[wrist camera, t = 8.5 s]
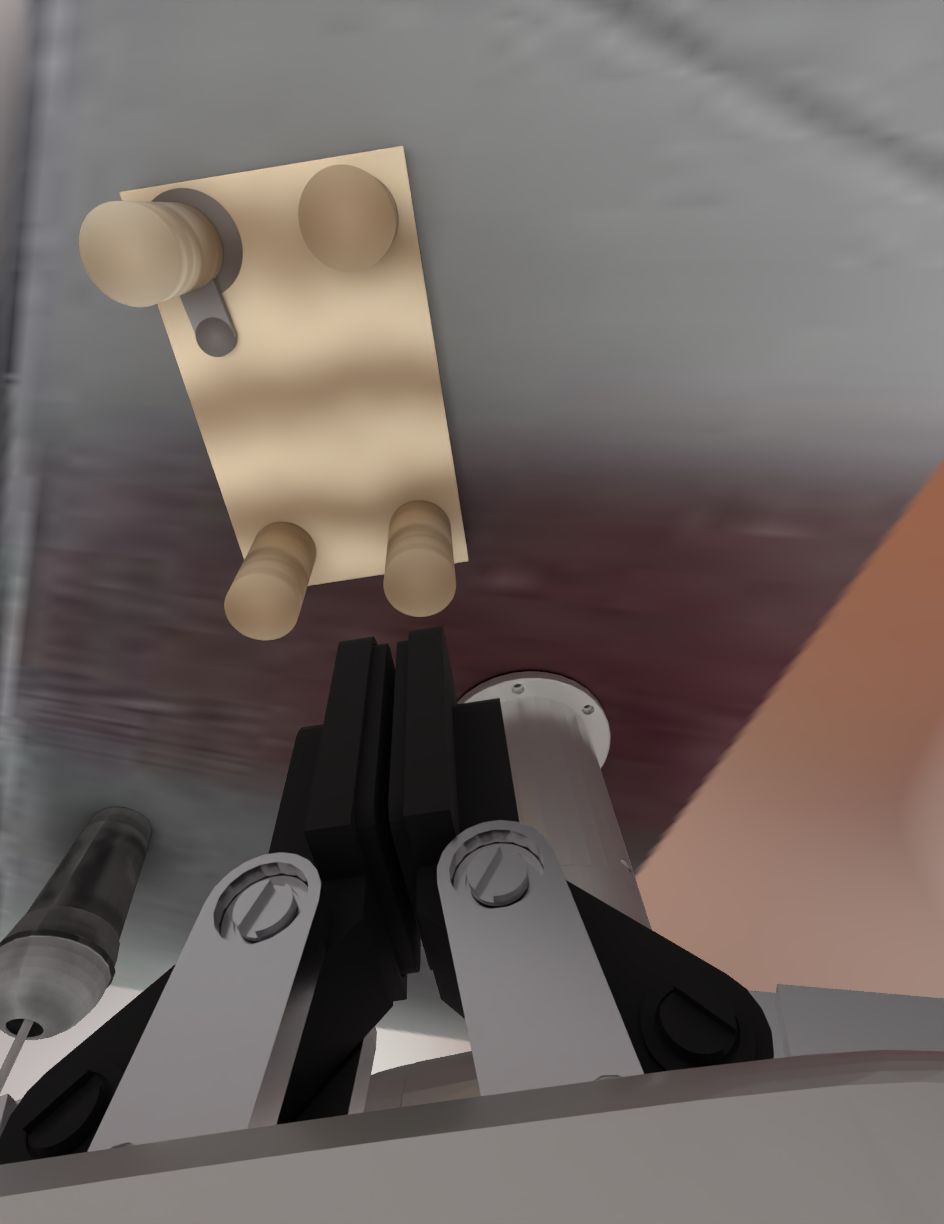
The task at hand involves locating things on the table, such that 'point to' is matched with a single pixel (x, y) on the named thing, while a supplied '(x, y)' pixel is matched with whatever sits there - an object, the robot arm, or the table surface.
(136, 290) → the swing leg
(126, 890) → the beverage cup
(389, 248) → the stool seat
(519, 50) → the table surface
